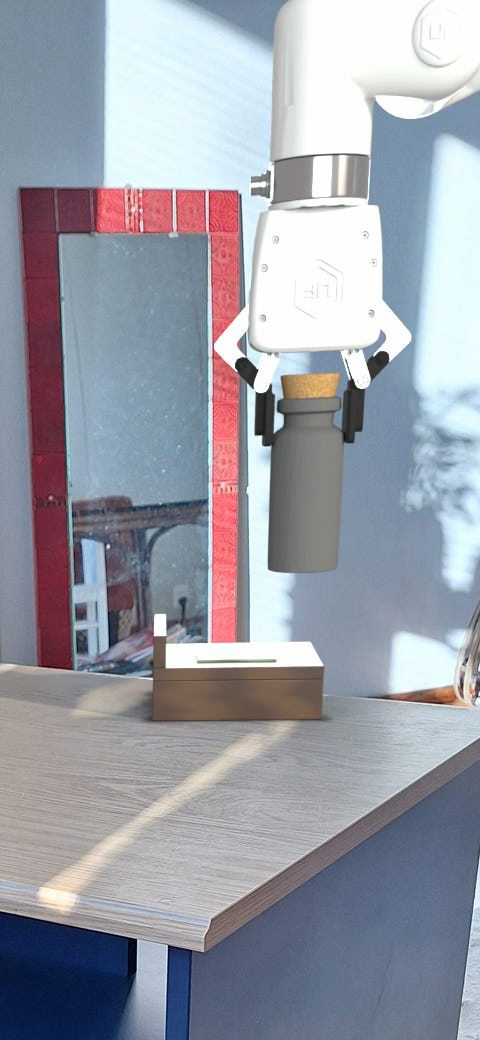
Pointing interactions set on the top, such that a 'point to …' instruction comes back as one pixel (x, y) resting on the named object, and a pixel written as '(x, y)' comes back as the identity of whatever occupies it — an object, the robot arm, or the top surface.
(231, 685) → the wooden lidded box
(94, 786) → the top surface
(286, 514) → the bottle
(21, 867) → the top surface
